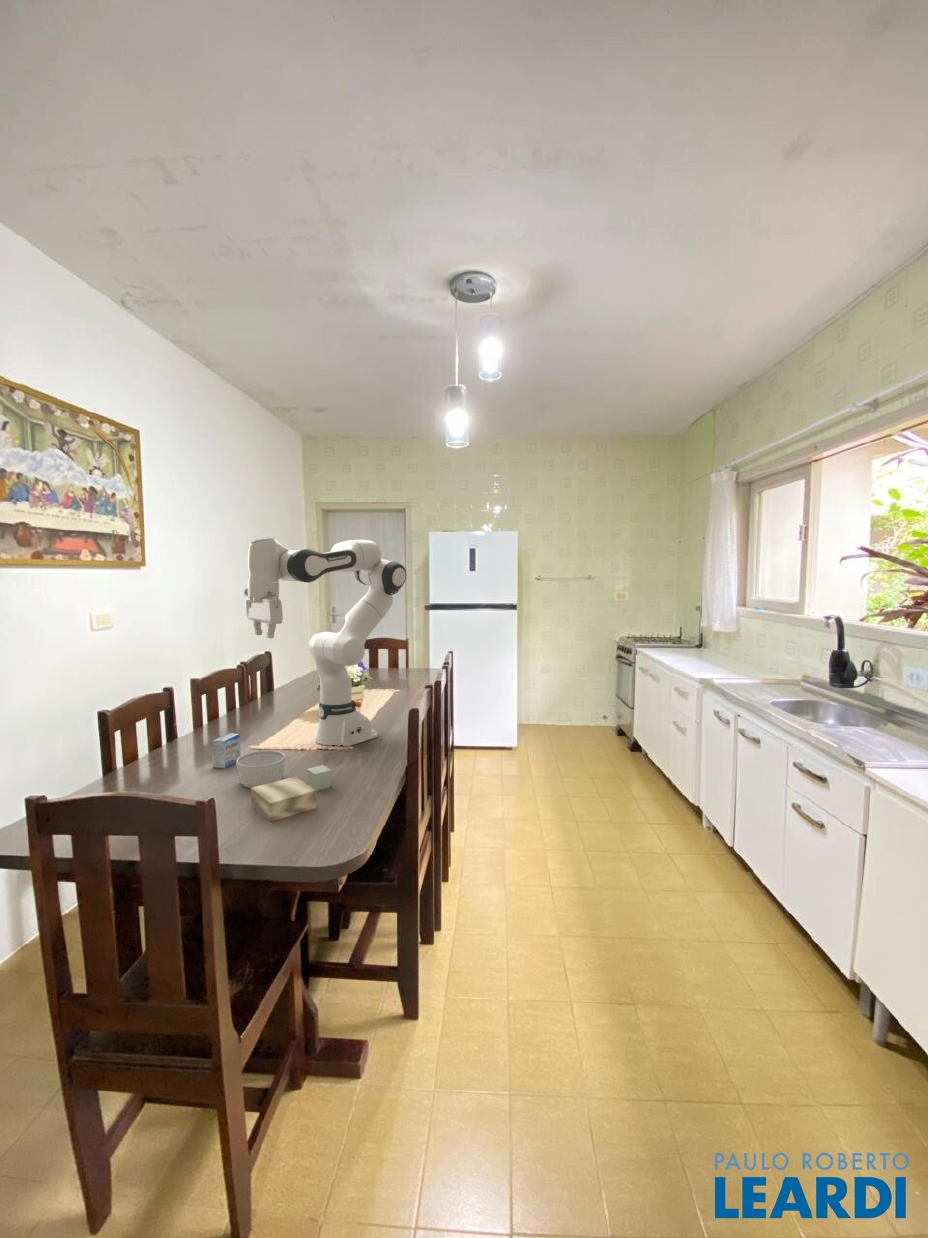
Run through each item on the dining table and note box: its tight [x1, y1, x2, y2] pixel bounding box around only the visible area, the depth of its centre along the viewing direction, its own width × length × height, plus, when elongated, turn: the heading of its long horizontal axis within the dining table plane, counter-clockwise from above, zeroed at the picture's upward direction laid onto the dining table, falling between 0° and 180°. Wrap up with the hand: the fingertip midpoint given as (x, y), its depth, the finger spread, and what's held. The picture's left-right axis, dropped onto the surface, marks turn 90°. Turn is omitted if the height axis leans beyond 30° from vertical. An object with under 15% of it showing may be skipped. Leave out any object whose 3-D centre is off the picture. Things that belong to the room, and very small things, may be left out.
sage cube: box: [306, 764, 332, 792], centre depth 147 cm, size 5×5×5 cm
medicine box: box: [211, 732, 241, 769], centre depth 162 cm, size 8×4×9 cm, turn 168°
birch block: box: [250, 776, 317, 823], centre depth 133 cm, size 12×12×5 cm
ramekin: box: [235, 749, 286, 789], centre depth 149 cm, size 13×13×7 cm
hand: (264, 636), depth 159 cm, fingers open, 8 cm apart
